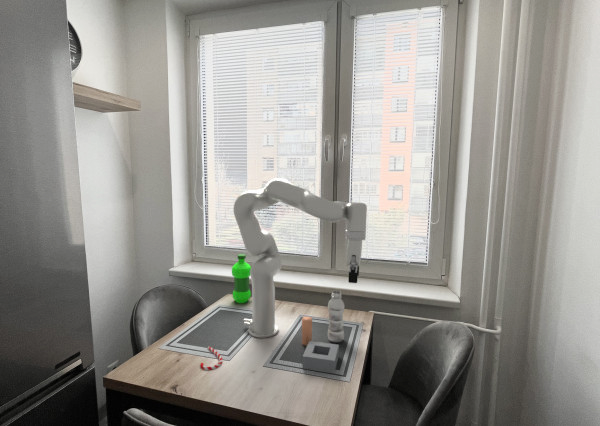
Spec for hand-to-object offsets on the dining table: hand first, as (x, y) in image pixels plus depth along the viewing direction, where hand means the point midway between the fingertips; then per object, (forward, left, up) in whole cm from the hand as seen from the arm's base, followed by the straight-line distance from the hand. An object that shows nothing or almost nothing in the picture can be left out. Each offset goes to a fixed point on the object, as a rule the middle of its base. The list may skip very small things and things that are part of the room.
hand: (353, 278), depth 125 cm
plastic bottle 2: (-7, +1, -27) cm, 28 cm away
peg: (-17, -4, -27) cm, 32 cm away
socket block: (-9, -16, -27) cm, 32 cm away
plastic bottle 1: (-60, +30, -27) cm, 73 cm away
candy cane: (-48, -24, -27) cm, 60 cm away
